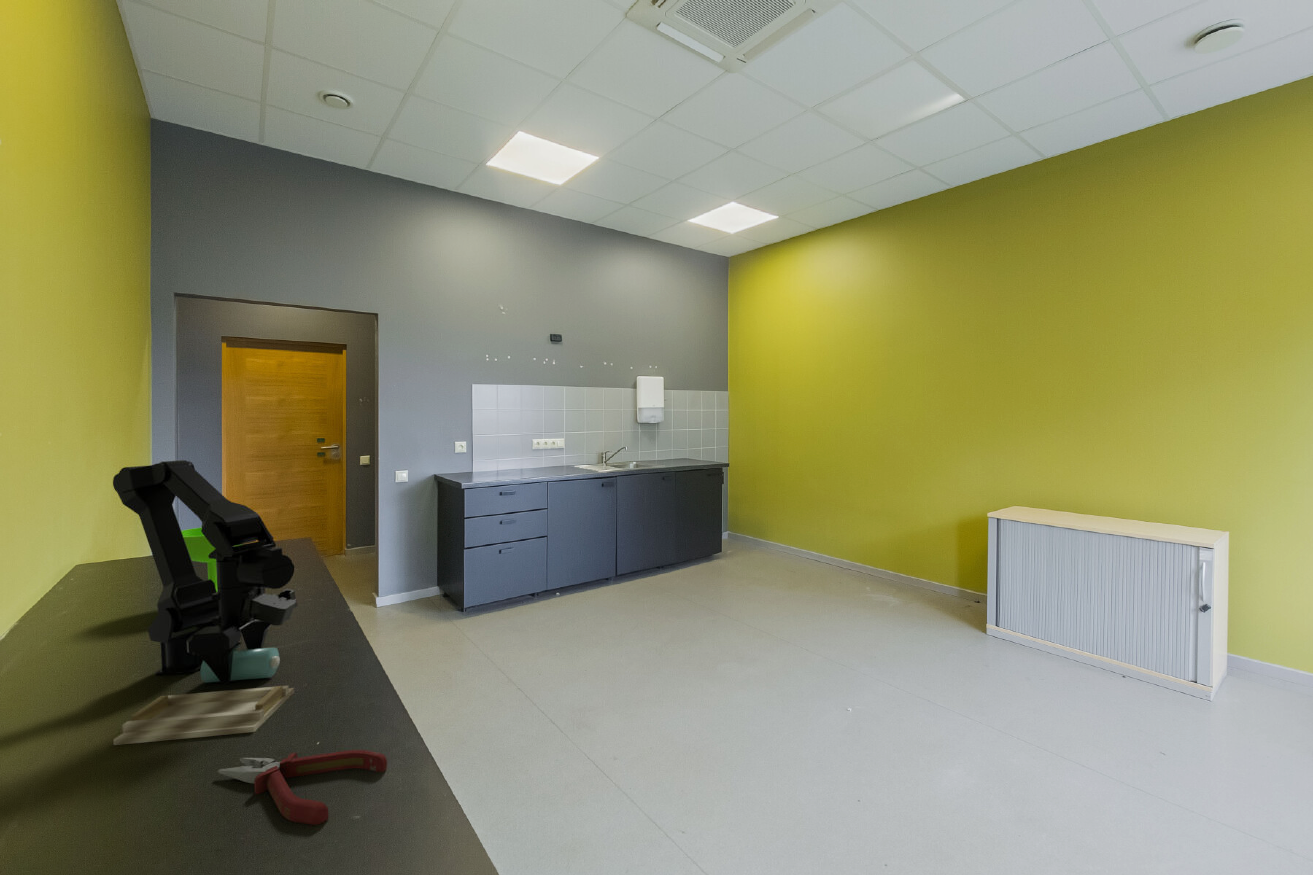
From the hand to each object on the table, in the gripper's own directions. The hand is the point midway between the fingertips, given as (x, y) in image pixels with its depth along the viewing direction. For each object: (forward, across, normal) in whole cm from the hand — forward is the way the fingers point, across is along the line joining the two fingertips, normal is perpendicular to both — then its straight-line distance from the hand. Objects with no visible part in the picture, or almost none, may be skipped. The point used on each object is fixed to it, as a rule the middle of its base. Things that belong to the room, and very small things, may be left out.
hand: (241, 671), depth 100 cm
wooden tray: (+1, -14, -3) cm, 14 cm away
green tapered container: (+1, +51, +33) cm, 61 cm away
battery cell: (+1, 0, 0) cm, 1 cm away
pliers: (+2, -33, -25) cm, 41 cm away
